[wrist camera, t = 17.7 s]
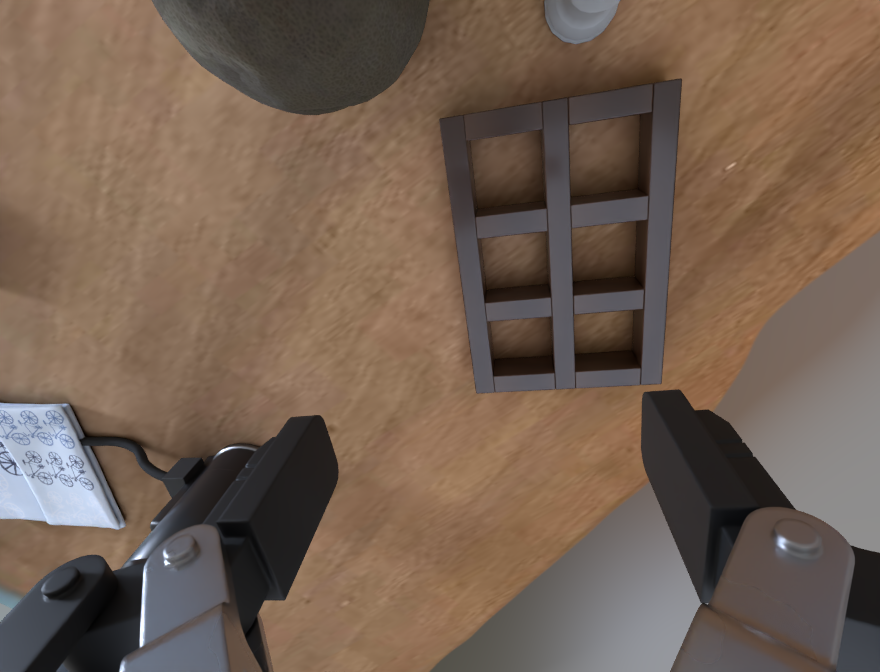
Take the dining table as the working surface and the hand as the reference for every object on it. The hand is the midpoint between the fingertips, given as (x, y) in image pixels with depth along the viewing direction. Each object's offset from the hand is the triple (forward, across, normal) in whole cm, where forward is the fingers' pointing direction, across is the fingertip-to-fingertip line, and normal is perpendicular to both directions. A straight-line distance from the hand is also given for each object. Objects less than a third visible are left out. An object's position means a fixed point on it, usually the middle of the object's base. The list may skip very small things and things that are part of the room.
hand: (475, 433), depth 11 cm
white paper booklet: (+28, +58, +21) cm, 68 cm away
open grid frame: (+26, -5, +3) cm, 27 cm away
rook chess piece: (+26, -7, -13) cm, 30 cm away
